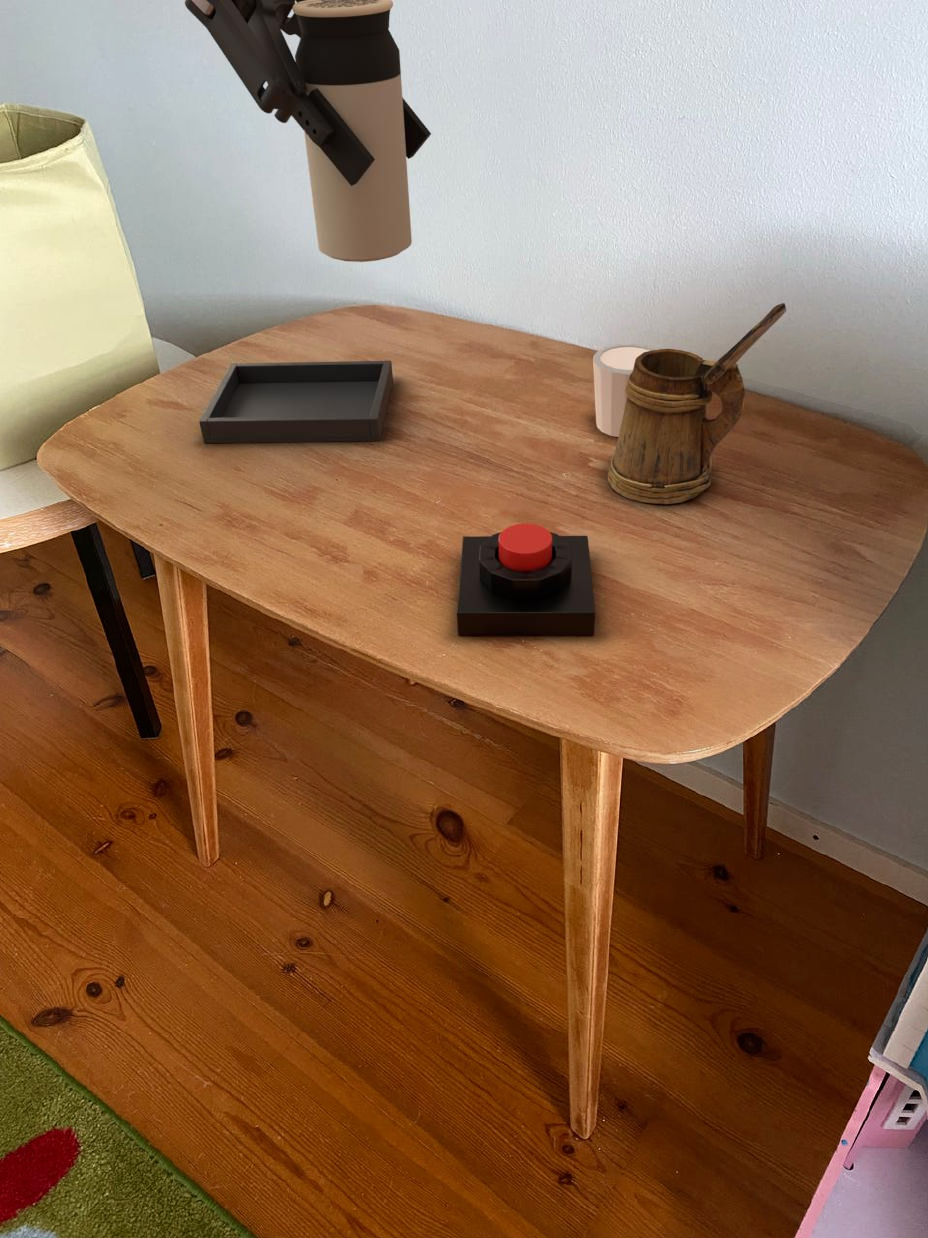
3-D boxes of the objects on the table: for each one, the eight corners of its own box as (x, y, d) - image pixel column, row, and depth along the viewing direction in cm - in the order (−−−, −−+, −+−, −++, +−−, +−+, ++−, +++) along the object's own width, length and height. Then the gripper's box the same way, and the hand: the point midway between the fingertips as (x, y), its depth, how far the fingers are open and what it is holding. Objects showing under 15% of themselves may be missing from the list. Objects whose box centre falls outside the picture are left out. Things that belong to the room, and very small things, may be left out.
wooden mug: (730, 532, 82) (763, 323, 71) (589, 486, 89) (599, 288, 77) (773, 486, 88) (809, 285, 76) (637, 446, 94) (653, 255, 83)
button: (498, 572, 73) (498, 553, 72) (499, 542, 76) (498, 523, 75) (552, 572, 72) (553, 552, 71) (551, 541, 76) (551, 522, 75)
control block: (458, 636, 73) (455, 593, 70) (463, 558, 81) (461, 517, 78) (593, 636, 72) (596, 592, 70) (586, 557, 80) (588, 516, 78)
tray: (203, 443, 98) (198, 421, 96) (234, 383, 109) (230, 363, 107) (379, 441, 97) (377, 418, 95) (393, 381, 108) (391, 360, 106)
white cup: (610, 402, 101) (614, 337, 97) (671, 418, 98) (678, 351, 94) (577, 429, 97) (579, 362, 93) (639, 447, 94) (645, 378, 90)
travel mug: (430, 248, 84) (417, 0, 72) (351, 270, 80) (324, 12, 69) (378, 227, 89) (358, -8, 77) (301, 247, 85) (269, 3, 74)
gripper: (256, -58, 84) (429, 160, 88) (77, -31, 70) (293, 227, 74) (298, -138, 79) (481, 98, 83) (114, -127, 65) (344, 157, 69)
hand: (392, 158), depth 78 cm, fingers closed on travel mug, 8 cm apart
